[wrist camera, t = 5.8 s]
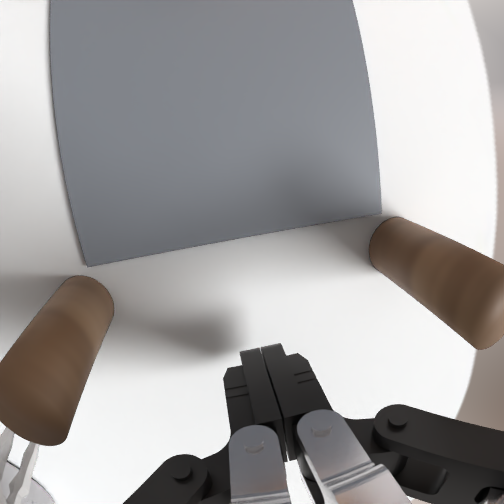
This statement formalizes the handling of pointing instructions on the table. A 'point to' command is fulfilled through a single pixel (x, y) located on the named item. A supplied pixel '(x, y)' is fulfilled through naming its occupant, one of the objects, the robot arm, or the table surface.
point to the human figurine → (22, 480)
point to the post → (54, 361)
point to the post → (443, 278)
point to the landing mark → (210, 120)
